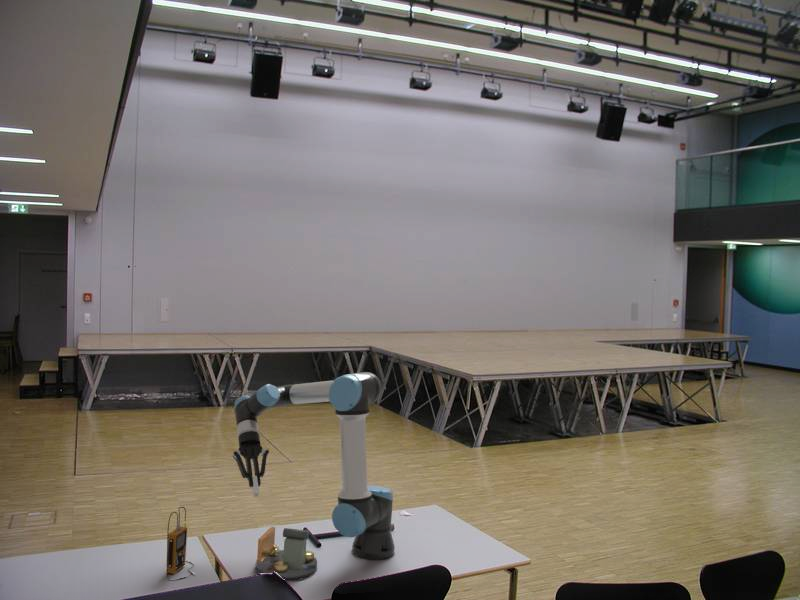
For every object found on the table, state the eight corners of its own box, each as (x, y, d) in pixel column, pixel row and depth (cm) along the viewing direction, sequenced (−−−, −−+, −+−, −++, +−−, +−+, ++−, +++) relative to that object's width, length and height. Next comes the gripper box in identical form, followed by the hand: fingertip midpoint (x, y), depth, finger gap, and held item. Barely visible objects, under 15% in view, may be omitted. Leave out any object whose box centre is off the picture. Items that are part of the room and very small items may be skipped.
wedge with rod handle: (308, 562, 233) (310, 527, 233) (303, 569, 227) (305, 533, 227) (284, 560, 234) (286, 525, 234) (279, 567, 228) (281, 531, 228)
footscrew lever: (268, 551, 239) (269, 523, 239) (280, 552, 239) (282, 525, 238) (252, 568, 225) (253, 538, 225) (265, 569, 224) (266, 540, 224)
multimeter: (189, 583, 217) (192, 519, 216) (159, 579, 219) (163, 515, 218) (211, 565, 231) (214, 505, 231) (183, 561, 233) (186, 501, 233)
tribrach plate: (322, 559, 242) (323, 547, 242) (308, 583, 222) (309, 571, 222) (266, 553, 244) (266, 541, 244) (247, 576, 224) (248, 564, 224)
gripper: (264, 440, 261) (272, 498, 246) (228, 441, 256) (235, 501, 241) (268, 429, 256) (277, 488, 241) (232, 430, 251) (239, 490, 236)
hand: (256, 494), depth 241 cm, fingers closed
